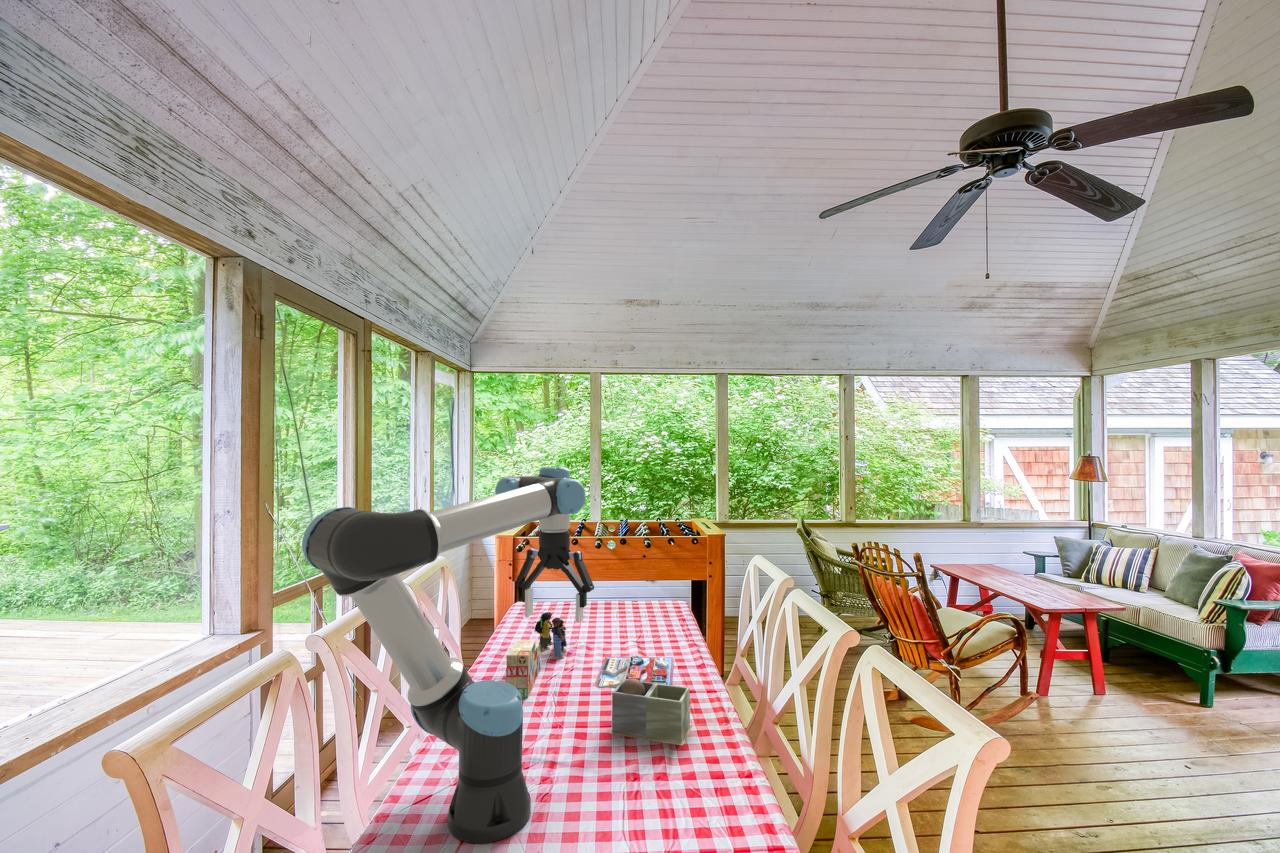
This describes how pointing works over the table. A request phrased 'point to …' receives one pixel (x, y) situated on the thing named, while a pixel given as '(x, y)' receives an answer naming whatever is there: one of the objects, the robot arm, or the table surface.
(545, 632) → the doll family
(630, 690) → the walnut ball
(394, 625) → the robot arm
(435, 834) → the table surface
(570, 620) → the table surface
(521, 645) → the stack of blocks
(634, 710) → the divided open bin
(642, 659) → the puzzle board
